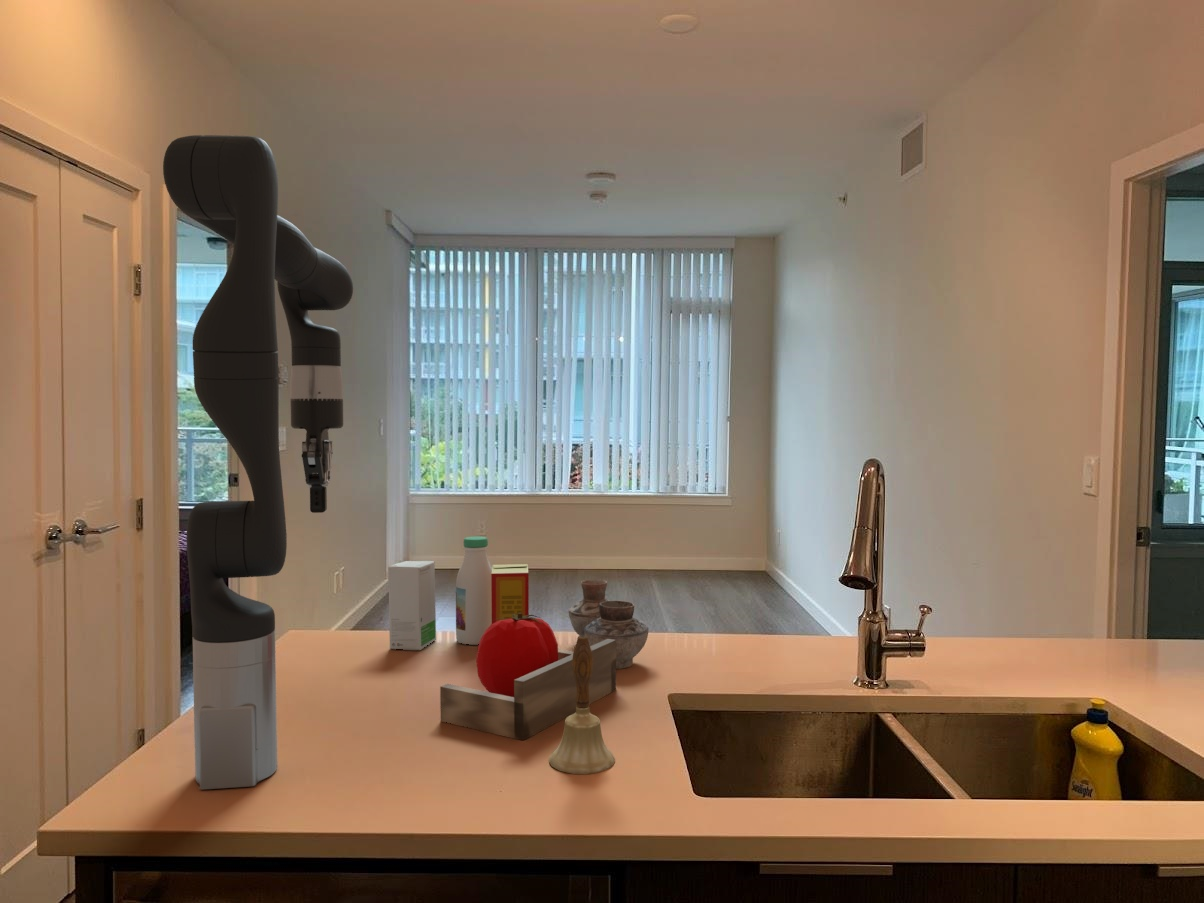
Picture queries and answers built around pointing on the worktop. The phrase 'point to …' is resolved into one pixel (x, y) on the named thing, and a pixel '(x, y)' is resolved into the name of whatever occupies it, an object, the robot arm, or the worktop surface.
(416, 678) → the worktop surface
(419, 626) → the skincare box
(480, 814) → the worktop surface
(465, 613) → the milk bottle
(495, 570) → the baking soda box
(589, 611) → the pottery
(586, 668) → the hand bell
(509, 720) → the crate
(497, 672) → the tomato
